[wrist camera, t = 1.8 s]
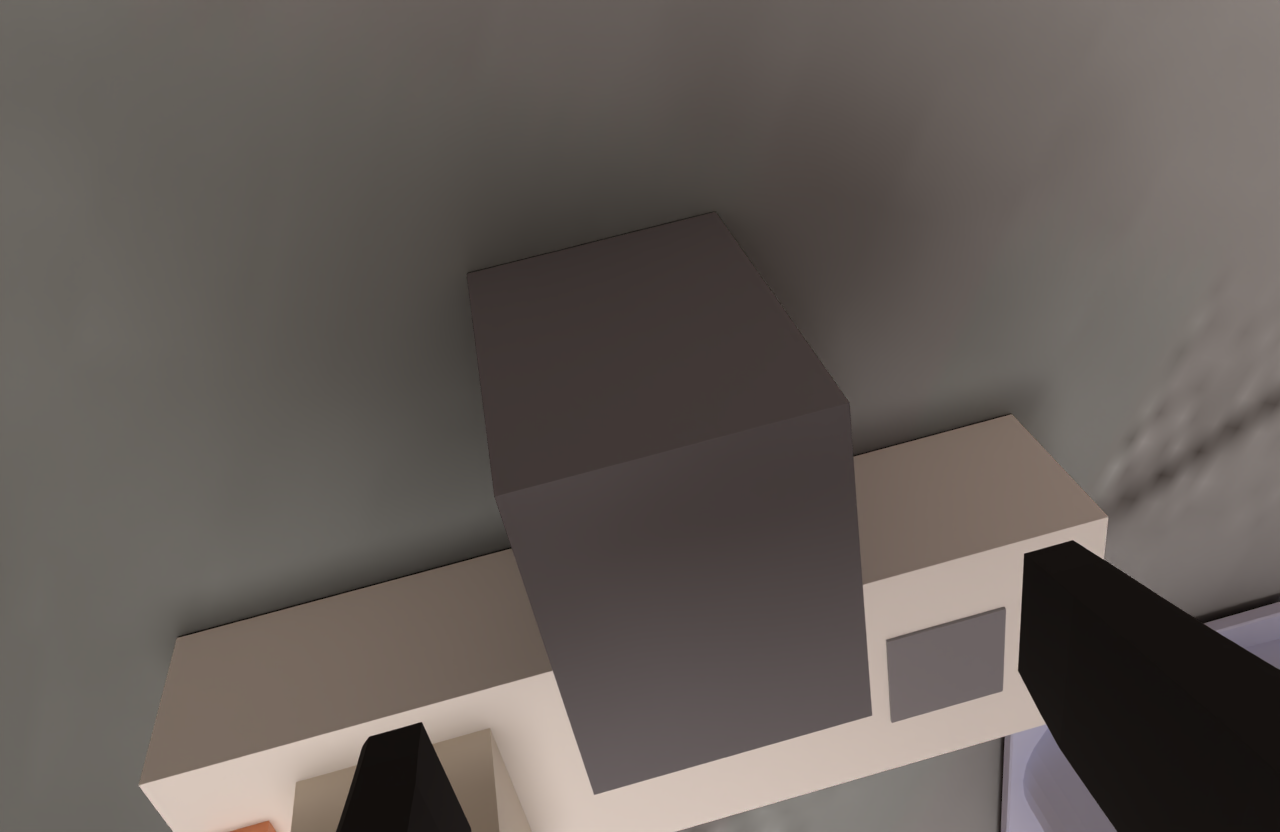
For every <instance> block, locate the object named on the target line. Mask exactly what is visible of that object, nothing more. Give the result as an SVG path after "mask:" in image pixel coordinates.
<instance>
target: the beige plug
mask: <svg viewBox="0 0 1280 832" xmlns="http://www.w3.org/2000/svg"><path fill="white" fill-rule="evenodd" d="M432 745H433V747H434V749H435V751H436V753H437V756H438V758H439V760H440V762H441V764H442V766H443V769H444V771H445V773H446V775H447V777H448V779H449V782H450V784H451V786H452V788H453V790H454V792H455V795H456V797H457V799H458V801H459V803H460V805H461V807H462V810H463V812H464V814H465V816H466V818H467V820H468V823H469V825H470V827H471V832H532V830H531V828H530V825H529V823H528V820H527V818H526V815H525V813H524V811H523V808H522V806H521V803H520V801H519V798H518V796H517V793H516V791H515V788H514V786H513V783H512V781H511V778H510V776H509V773H508V771H507V769H506V766H505V764H504V761H503V759H502V756H501V754H500V751H499V749H498V746H497V744H496V741H495V739H494V736H493V734H492V731H491V729H490V728H488V729H485V730H481V731H478V732H474V733H470V734H467V735H463V736H460V737H456V738H453V739H449V740H445V741H442V742H438V743H435V744H432ZM356 766H357V765H356ZM356 766H352V767H349V768H345V769H342V770H338V771H334V772H331V773H327V774H324V775H320V776H317V777H313V778H309V779H306V780H302V781H299V782H296V787H295V796H294V806H293V815H292V825H291V832H336V830H337V827H338V824H339V821H340V818H341V815H342V812H343V809H344V805H345V802H346V799H347V796H348V793H349V790H350V786H351V783H352V780H353V776H354V773H355V770H356Z"/></svg>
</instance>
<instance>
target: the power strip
mask: <svg viewBox="0 0 1280 832" xmlns="http://www.w3.org/2000/svg"><path fill="white" fill-rule="evenodd" d="M853 458H854V472H855V486H856V499H857V513H858V527H859V541H860V554H861V568H862V582H863V595H864V609H865V623H866V636H867V650H868V664H869V678H870V691H871V705H872V716H869V717H866V718H862V719H859V720H855V721H852V722H848V723H845V724H841V725H838V726H834V727H831V728H827V729H824V730H820V731H817V732H813V733H810V734H806V735H803V736H799V737H796V738H792V739H789V740H785V741H782V742H778V743H775V744H771V745H768V746H764V747H761V748H757V749H754V750H750V751H747V752H743V753H740V754H736V755H733V756H729V757H726V758H722V759H719V760H715V761H712V762H708V763H705V764H701V765H698V766H694V767H691V768H687V769H684V770H680V771H677V772H673V773H670V774H666V775H663V776H659V777H656V778H652V779H649V780H645V781H642V782H638V783H635V784H631V785H628V786H624V787H621V788H617V789H614V790H610V791H607V792H603V793H600V794H596V795H594V793H593V790H592V787H591V784H590V781H589V778H588V775H587V772H586V769H585V766H584V763H583V760H582V757H581V754H580V751H579V748H578V745H577V742H576V739H575V736H574V733H573V730H572V727H571V724H570V721H569V718H568V715H567V712H566V709H565V706H564V703H563V700H562V697H561V694H560V691H559V688H558V685H557V682H556V679H555V676H554V673H553V670H552V667H551V664H550V661H549V658H548V655H547V652H546V649H545V646H544V643H543V640H542V637H541V634H540V631H539V628H538V625H537V622H536V619H535V616H534V613H533V610H532V607H531V604H530V601H529V598H528V595H527V592H526V589H525V586H524V584H523V581H522V578H521V575H520V572H519V569H518V566H517V563H516V560H515V557H514V554H513V551H512V548H511V549H507V550H504V551H500V552H496V553H492V554H489V555H485V556H481V557H478V558H474V559H470V560H466V561H463V562H459V563H455V564H451V565H448V566H444V567H440V568H437V569H433V570H429V571H425V572H422V573H418V574H414V575H410V576H407V577H403V578H399V579H395V580H392V581H388V582H384V583H381V584H377V585H373V586H369V587H366V588H362V589H358V590H354V591H351V592H347V593H343V594H340V595H336V596H332V597H328V598H325V599H321V600H317V601H313V602H310V603H306V604H302V605H299V606H295V607H291V608H287V609H284V610H280V611H276V612H272V613H269V614H265V615H261V616H258V617H254V618H250V619H246V620H243V621H239V622H235V623H231V624H228V625H224V626H220V627H217V628H213V629H209V630H205V631H202V632H198V633H194V634H190V635H187V636H183V637H179V638H177V639H176V643H175V647H174V651H173V655H172V659H171V663H170V666H169V670H168V674H167V678H166V682H165V686H164V690H163V693H162V697H161V701H160V705H159V709H158V713H157V716H156V720H155V724H154V728H153V732H152V736H151V740H150V743H149V747H148V751H147V755H146V759H145V763H144V767H143V770H142V774H141V778H140V782H139V787H140V788H141V789H142V791H143V792H144V793H145V795H146V796H147V797H148V799H149V800H150V801H151V803H152V804H153V805H154V807H155V808H156V809H157V811H158V812H159V813H160V815H161V816H162V817H163V819H164V820H165V821H166V823H167V824H168V825H169V827H170V828H171V829H172V831H173V832H291V825H292V815H293V806H294V796H295V787H296V782H299V781H302V780H306V779H309V778H313V777H317V776H320V775H324V774H327V773H331V772H334V771H338V770H342V769H345V768H349V767H352V766H356V765H357V763H358V759H359V756H360V752H361V749H362V746H363V744H364V743H365V742H366V740H367V739H368V737H370V736H373V735H377V734H380V733H384V732H387V731H391V730H395V729H398V728H402V727H405V726H409V725H413V724H416V723H420V722H422V723H423V725H424V728H425V730H426V732H427V734H428V736H429V738H430V741H431V743H432V744H435V743H438V742H442V741H445V740H449V739H453V738H456V737H460V736H463V735H467V734H470V733H474V732H478V731H481V730H485V729H488V728H490V729H491V731H492V734H493V736H494V739H495V741H496V744H497V746H498V749H499V751H500V754H501V756H502V759H503V761H504V764H505V766H506V769H507V771H508V773H509V776H510V778H511V781H512V783H513V786H514V788H515V791H516V793H517V796H518V798H519V801H520V803H521V806H522V808H523V811H524V813H525V815H526V818H527V820H528V823H529V825H530V828H531V830H532V832H676V831H679V830H682V829H686V828H689V827H693V826H696V825H700V824H703V823H707V822H710V821H714V820H717V819H720V818H724V817H727V816H731V815H734V814H738V813H741V812H745V811H748V810H752V809H755V808H758V807H762V806H765V805H769V804H772V803H776V802H779V801H783V800H786V799H790V798H793V797H796V796H800V795H803V794H807V793H810V792H814V791H817V790H821V789H824V788H828V787H831V786H835V785H838V784H841V783H845V782H848V781H852V780H855V779H859V778H862V777H866V776H869V775H873V774H876V773H879V772H883V771H886V770H890V769H893V768H897V767H900V766H904V765H907V764H911V763H914V762H917V761H921V760H924V759H928V758H931V757H935V756H938V755H942V754H945V753H949V752H952V751H955V750H959V749H962V748H966V747H969V746H973V745H976V744H980V743H983V742H987V741H990V740H993V739H997V738H1000V737H1004V736H1007V735H1011V734H1014V733H1018V732H1021V731H1025V730H1028V729H1031V728H1035V727H1038V726H1042V725H1045V724H1046V723H1045V721H1044V720H1043V718H1042V716H1041V714H1040V712H1039V710H1038V708H1037V707H1036V705H1035V703H1034V701H1033V699H1032V697H1031V695H1030V693H1029V691H1028V689H1027V687H1026V685H1025V684H1024V682H1023V680H1022V678H1021V676H1020V674H1019V672H1018V660H1019V641H1020V621H1021V602H1022V583H1023V564H1024V554H1025V553H1028V552H1032V551H1036V550H1039V549H1043V548H1046V547H1050V546H1053V545H1057V544H1061V543H1064V542H1068V541H1071V540H1074V541H1075V542H1077V543H1078V544H1080V545H1082V546H1083V547H1085V548H1086V549H1088V550H1089V551H1091V552H1092V553H1094V554H1096V555H1097V556H1099V557H1100V558H1102V559H1103V560H1104V553H1105V544H1106V535H1107V526H1108V516H1107V515H1106V514H1105V513H1104V512H1103V511H1102V510H1101V508H1100V507H1099V506H1098V505H1097V504H1096V503H1095V502H1094V501H1093V500H1092V499H1091V498H1090V497H1089V496H1088V495H1087V494H1086V492H1085V491H1084V490H1083V489H1082V488H1081V487H1080V486H1079V485H1078V484H1077V483H1076V482H1075V481H1074V480H1073V479H1072V478H1071V477H1070V475H1069V474H1068V473H1067V472H1066V471H1065V470H1064V469H1063V468H1062V467H1061V466H1060V465H1059V464H1058V463H1057V462H1056V461H1055V459H1054V458H1053V457H1052V456H1051V455H1050V454H1049V453H1048V452H1047V451H1046V450H1045V449H1044V448H1043V447H1042V446H1041V445H1040V444H1039V442H1038V441H1037V440H1036V439H1035V438H1034V437H1033V436H1032V435H1031V434H1030V433H1029V432H1028V431H1027V430H1026V429H1025V428H1024V426H1023V425H1022V424H1021V423H1020V422H1019V421H1018V420H1017V419H1016V418H1015V417H1014V416H1013V415H1012V414H1011V415H1007V416H1003V417H1000V418H996V419H992V420H988V421H985V422H981V423H977V424H973V425H970V426H966V427H962V428H959V429H955V430H951V431H947V432H944V433H940V434H936V435H932V436H929V437H925V438H921V439H918V440H914V441H910V442H906V443H903V444H899V445H895V446H891V447H888V448H884V449H880V450H877V451H873V452H869V453H865V454H862V455H858V456H854V457H853Z"/></svg>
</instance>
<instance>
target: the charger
mask: <svg viewBox="0 0 1280 832" xmlns="http://www.w3.org/2000/svg"><path fill="white" fill-rule="evenodd" d="M467 281H468V289H469V297H470V305H471V313H472V321H473V329H474V337H475V345H476V353H477V361H478V369H479V377H480V385H481V393H482V401H483V409H484V417H485V425H486V433H487V441H488V449H489V457H490V465H491V473H492V481H493V489H494V497H495V500H496V503H497V506H498V509H499V512H500V515H501V518H502V521H503V524H504V527H505V530H506V533H507V536H508V539H509V542H510V545H511V548H512V551H513V554H514V557H515V560H516V563H517V566H518V569H519V572H520V575H521V578H522V581H523V584H524V586H525V589H526V592H527V595H528V598H529V601H530V604H531V607H532V610H533V613H534V616H535V619H536V622H537V625H538V628H539V631H540V634H541V637H542V640H543V643H544V646H545V649H546V652H547V655H548V658H549V661H550V664H551V667H552V670H553V673H554V676H555V679H556V682H557V685H558V688H559V691H560V694H561V697H562V700H563V703H564V706H565V709H566V712H567V715H568V718H569V721H570V724H571V727H572V730H573V733H574V736H575V739H576V742H577V745H578V748H579V751H580V754H581V757H582V760H583V763H584V766H585V769H586V772H587V775H588V778H589V781H590V784H591V787H592V790H593V793H594V795H596V794H600V793H603V792H607V791H610V790H614V789H617V788H621V787H624V786H628V785H631V784H635V783H638V782H642V781H645V780H649V779H652V778H656V777H659V776H663V775H666V774H670V773H673V772H677V771H680V770H684V769H687V768H691V767H694V766H698V765H701V764H705V763H708V762H712V761H715V760H719V759H722V758H726V757H729V756H733V755H736V754H740V753H743V752H747V751H750V750H754V749H757V748H761V747H764V746H768V745H771V744H775V743H778V742H782V741H785V740H789V739H792V738H796V737H799V736H803V735H806V734H810V733H813V732H817V731H820V730H824V729H827V728H831V727H834V726H838V725H841V724H845V723H848V722H852V721H855V720H859V719H862V718H866V717H869V716H872V705H871V691H870V678H869V664H868V650H867V636H866V623H865V609H864V595H863V582H862V568H861V554H860V541H859V527H858V513H857V499H856V486H855V472H854V458H853V445H852V431H851V417H850V404H849V401H848V400H847V399H846V397H845V396H844V394H843V393H842V391H841V390H840V389H839V387H838V386H837V384H836V383H835V381H834V380H833V379H832V377H831V376H830V374H829V373H828V371H827V370H826V369H825V367H824V366H823V364H822V363H821V361H820V360H819V359H818V357H817V356H816V354H815V353H814V351H813V350H812V349H811V347H810V346H809V344H808V343H807V341H806V340H805V339H804V337H803V336H802V334H801V333H800V331H799V330H798V329H797V327H796V326H795V324H794V323H793V321H792V320H791V319H790V317H789V316H788V314H787V313H786V311H785V310H784V309H783V307H782V306H781V304H780V303H779V301H778V300H777V299H776V297H775V296H774V294H773V293H772V292H771V290H770V289H769V287H768V286H767V284H766V283H765V282H764V280H763V279H762V277H761V276H760V274H759V273H758V272H757V270H756V269H755V267H754V266H753V264H752V263H751V262H750V260H749V259H748V257H747V256H746V254H745V253H744V252H743V250H742V249H741V247H740V246H739V244H738V243H737V242H736V240H735V239H734V237H733V236H732V234H731V233H730V232H729V230H728V229H727V227H726V226H725V224H724V223H723V222H722V220H721V219H720V217H719V216H718V214H717V213H716V212H712V213H708V214H704V215H700V216H696V217H692V218H688V219H684V220H680V221H676V222H672V223H668V224H664V225H660V226H656V227H652V228H648V229H644V230H640V231H636V232H632V233H628V234H624V235H620V236H616V237H612V238H608V239H604V240H600V241H596V242H592V243H588V244H584V245H580V246H576V247H572V248H568V249H564V250H560V251H556V252H552V253H548V254H544V255H540V256H536V257H532V258H528V259H524V260H520V261H516V262H512V263H508V264H504V265H500V266H496V267H492V268H488V269H484V270H480V271H476V272H472V273H468V274H467Z"/></svg>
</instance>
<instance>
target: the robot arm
mask: <svg viewBox="0 0 1280 832" xmlns="http://www.w3.org/2000/svg"><path fill="white" fill-rule="evenodd" d="M1018 672H1019V674H1020V676H1021V678H1022V680H1023V682H1024V684H1025V685H1026V687H1027V689H1028V691H1029V693H1030V695H1031V697H1032V699H1033V701H1034V703H1035V705H1036V707H1037V708H1038V710H1039V712H1040V714H1041V716H1042V718H1043V720H1044V721H1045V723H1046V724H1045V725H1042V726H1038V727H1035V728H1031V729H1028V730H1025V731H1021V732H1018V733H1014V734H1011V735H1007V736H1005V742H1004V767H1003V791H1002V815H1001V832H1280V602H1277V603H1273V604H1270V605H1266V606H1263V607H1259V608H1256V609H1252V610H1249V611H1245V612H1242V613H1238V614H1235V615H1231V616H1228V617H1224V618H1221V619H1217V620H1214V621H1210V622H1207V623H1202V622H1200V621H1198V620H1197V619H1195V618H1194V617H1192V616H1190V615H1189V614H1187V613H1186V612H1184V611H1183V610H1181V609H1179V608H1178V607H1176V606H1175V605H1173V604H1172V603H1170V602H1169V601H1167V600H1165V599H1164V598H1162V597H1161V596H1159V595H1158V594H1156V593H1154V592H1153V591H1151V590H1150V589H1148V588H1147V587H1145V586H1144V585H1142V584H1141V583H1139V582H1137V581H1136V580H1134V579H1133V578H1131V577H1130V576H1128V575H1127V574H1125V573H1124V572H1122V571H1120V570H1119V569H1117V568H1116V567H1114V566H1113V565H1111V564H1110V563H1108V562H1107V561H1105V560H1103V559H1102V558H1100V557H1099V556H1097V555H1096V554H1094V553H1092V552H1091V551H1089V550H1088V549H1086V548H1085V547H1083V546H1082V545H1080V544H1078V543H1077V542H1075V541H1074V540H1071V541H1068V542H1064V543H1061V544H1057V545H1053V546H1050V547H1046V548H1043V549H1039V550H1036V551H1032V552H1028V553H1025V554H1024V564H1023V583H1022V602H1021V621H1020V641H1019V660H1018ZM336 832H471V827H470V825H469V823H468V820H467V818H466V816H465V814H464V812H463V810H462V807H461V805H460V803H459V801H458V799H457V797H456V795H455V792H454V790H453V788H452V786H451V784H450V782H449V779H448V777H447V775H446V773H445V771H444V769H443V766H442V764H441V762H440V760H439V758H438V756H437V753H436V751H435V749H434V747H433V745H432V743H431V741H430V738H429V736H428V734H427V732H426V730H425V728H424V725H423V723H422V722H420V723H416V724H413V725H409V726H405V727H402V728H398V729H395V730H391V731H387V732H384V733H380V734H377V735H373V736H370V737H368V739H367V740H366V742H365V743H364V744H363V746H362V749H361V752H360V756H359V759H358V763H357V766H356V770H355V773H354V776H353V780H352V783H351V786H350V790H349V793H348V796H347V799H346V802H345V805H344V809H343V812H342V815H341V818H340V821H339V824H338V827H337V830H336Z"/></svg>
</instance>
